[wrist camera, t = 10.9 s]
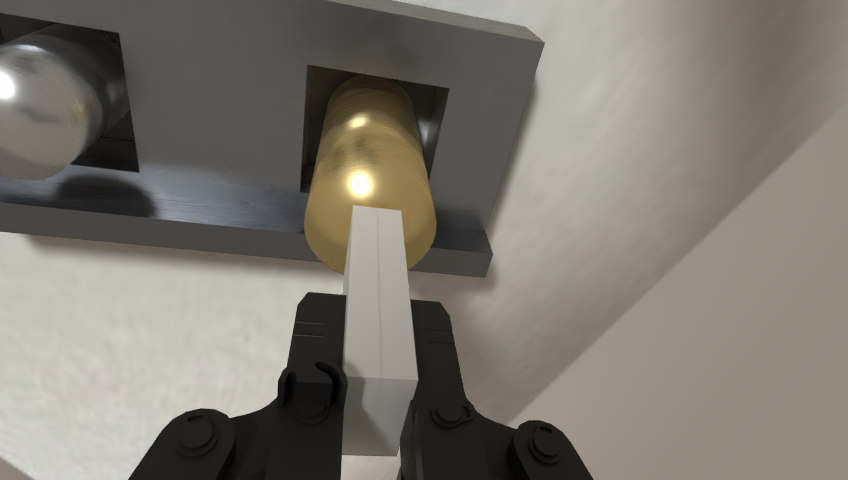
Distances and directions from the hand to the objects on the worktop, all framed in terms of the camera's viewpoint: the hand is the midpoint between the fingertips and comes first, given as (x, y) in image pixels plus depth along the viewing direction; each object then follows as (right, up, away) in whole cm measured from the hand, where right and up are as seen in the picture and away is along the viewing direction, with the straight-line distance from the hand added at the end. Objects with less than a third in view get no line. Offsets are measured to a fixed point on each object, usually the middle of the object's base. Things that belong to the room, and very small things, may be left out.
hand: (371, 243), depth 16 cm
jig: (-7, +7, +8) cm, 13 cm away
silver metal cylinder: (-14, +8, +6) cm, 17 cm away
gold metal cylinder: (-1, +6, +9) cm, 11 cm away
